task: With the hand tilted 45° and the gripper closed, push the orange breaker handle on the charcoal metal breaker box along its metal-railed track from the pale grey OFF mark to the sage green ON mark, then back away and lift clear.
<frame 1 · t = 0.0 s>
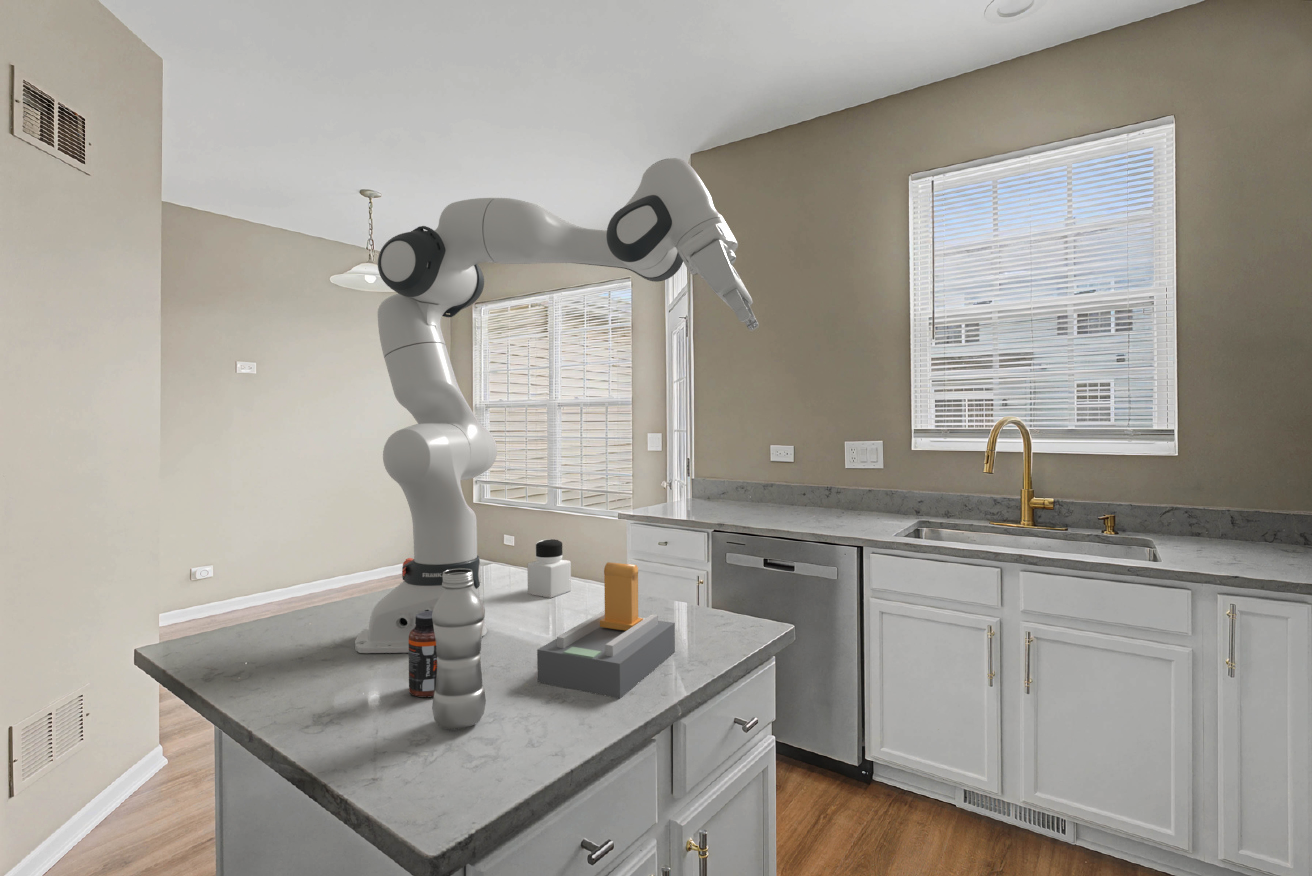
hand: (750, 324, 102), 54 cm above the worktop, tool tilted 30°, fingers open, 8 cm apart
breaker handle: (621, 594, 107), point 11 cm above the worktop, slide at 0.0 cm
medicine bottle: (549, 593, 148), on the worktop
plastic bottle: (459, 725, 84), on the worktop
supplement bottle: (430, 691, 95), on the worktop
breaker box: (610, 666, 104), on the worktop
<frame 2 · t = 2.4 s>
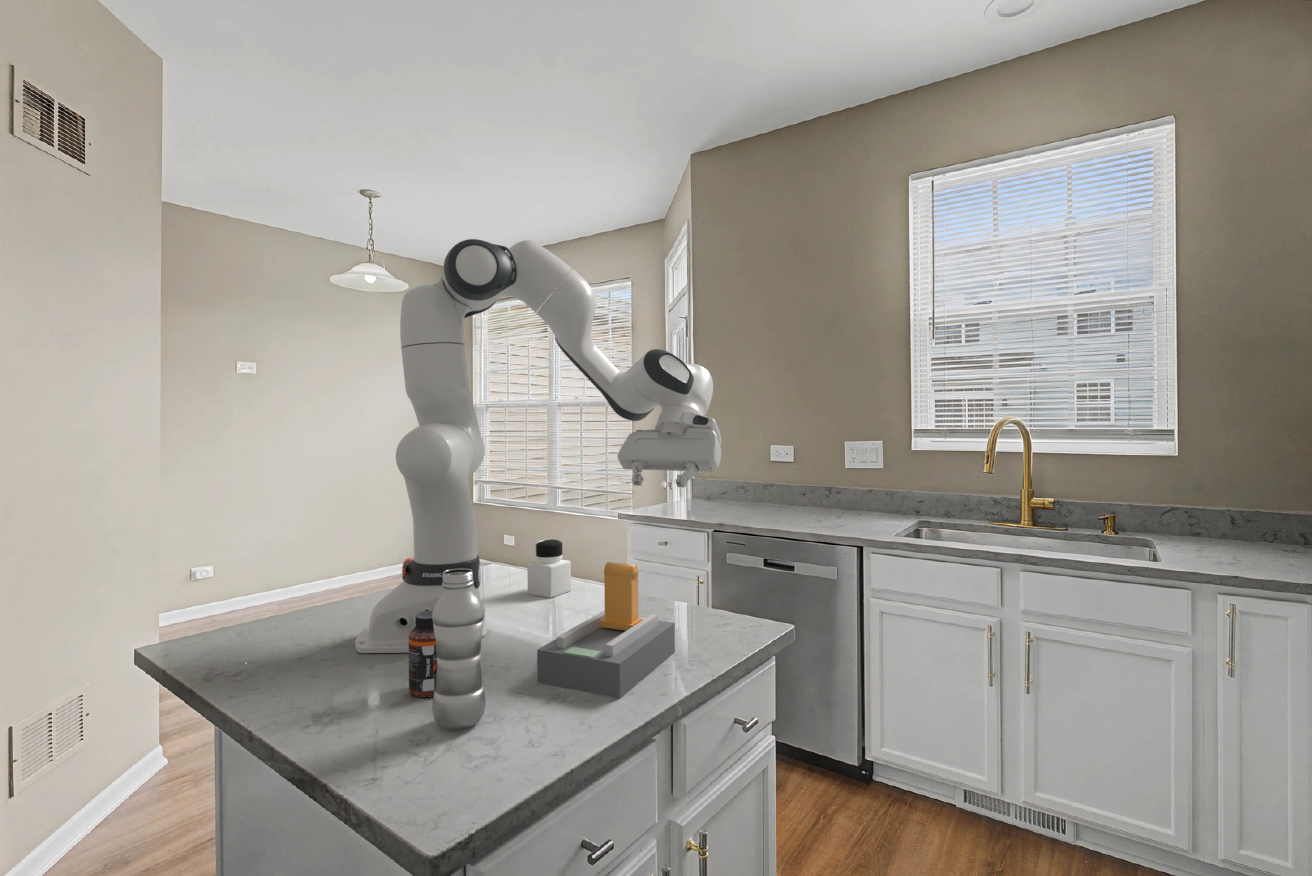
hand: (657, 484, 120), 27 cm above the worktop, tool tilted 45°, fingers open, 8 cm apart
nothing on the worktop moved.
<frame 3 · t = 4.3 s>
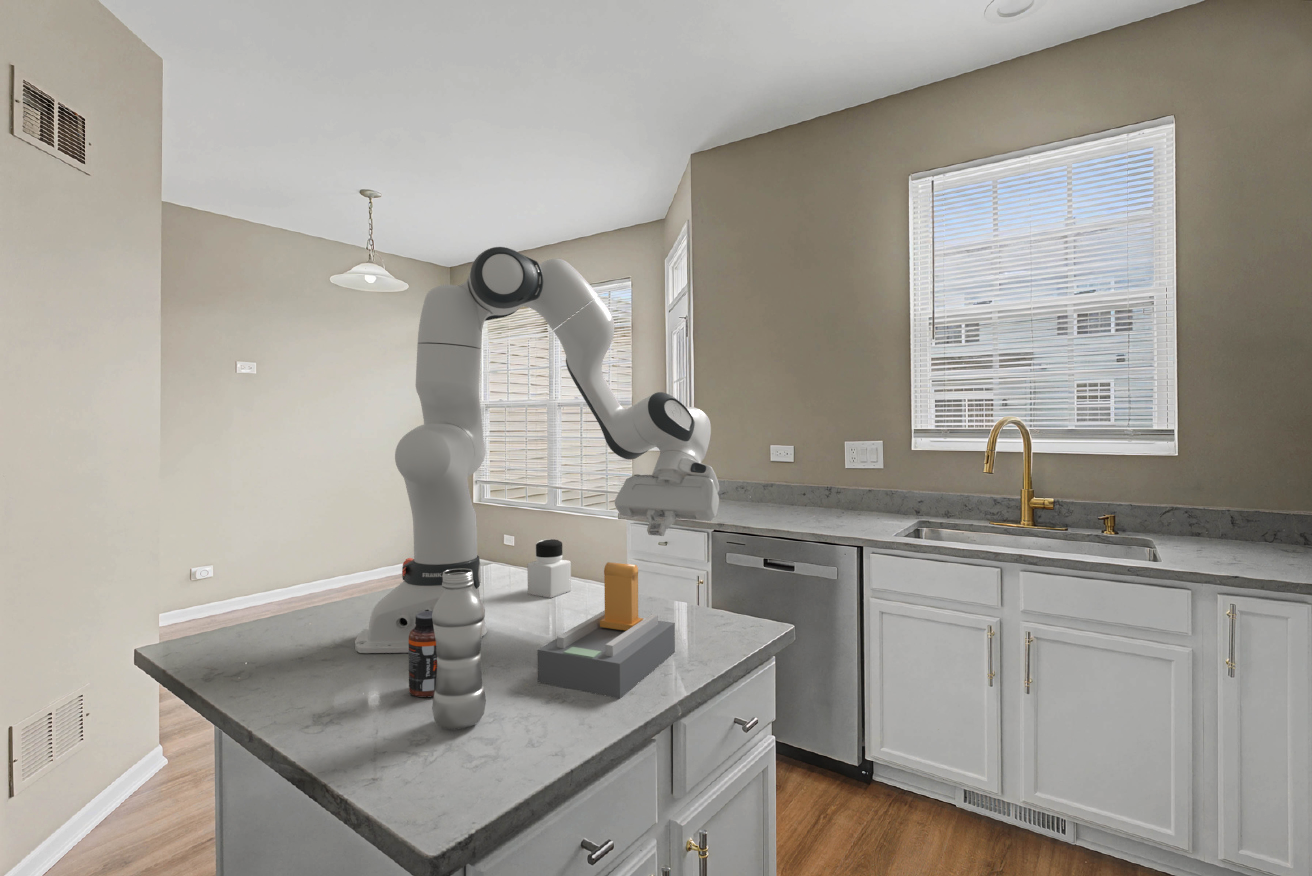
hand: (655, 533, 119), 18 cm above the worktop, tool tilted 45°, fingers closed
nothing on the worktop moved.
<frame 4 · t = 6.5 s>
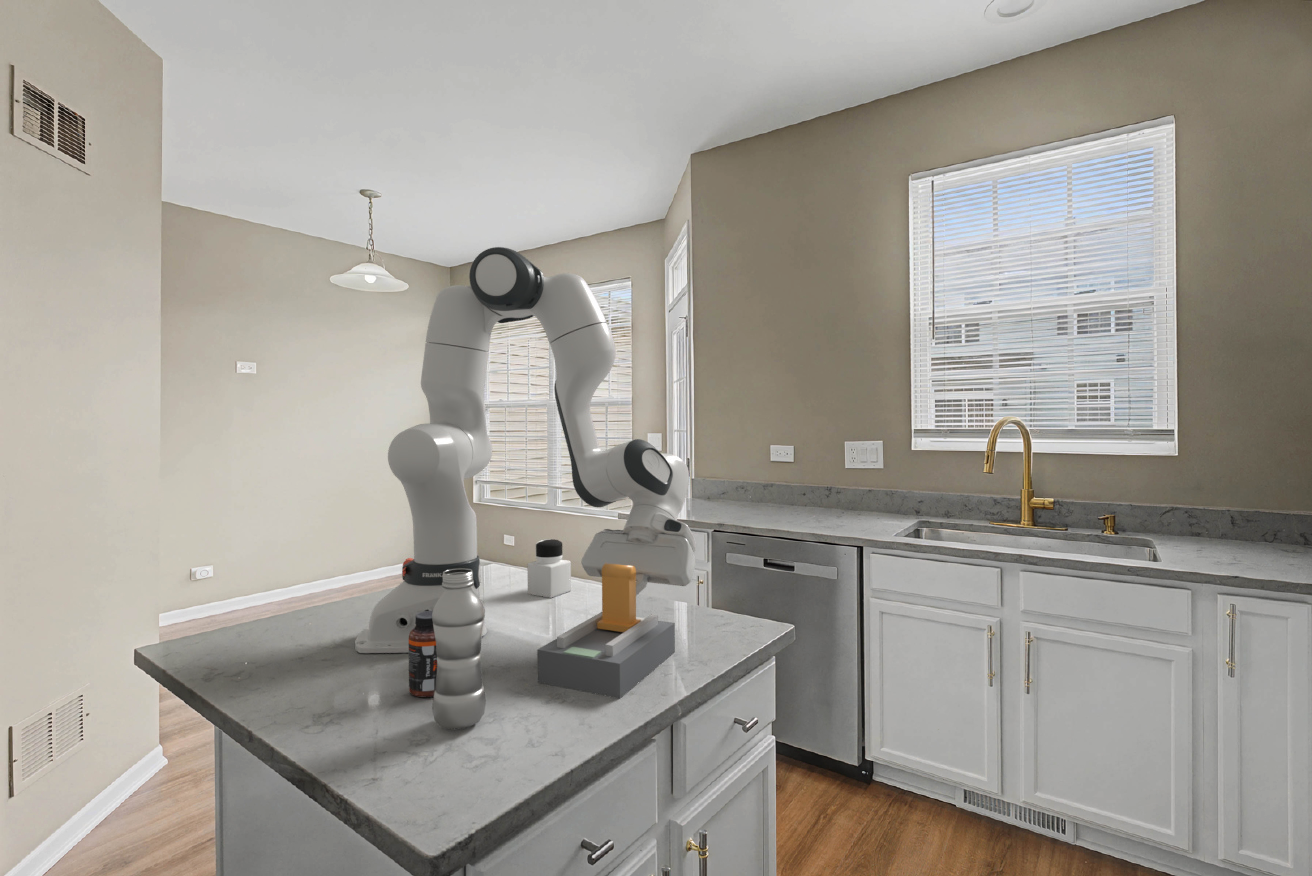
hand: (623, 600, 108), 9 cm above the worktop, tool tilted 45°, fingers closed, pressing on breaker handle
breaker handle: (619, 595, 106), point 11 cm above the worktop, slide at 0.8 cm, touching gripper
everything else where it was.
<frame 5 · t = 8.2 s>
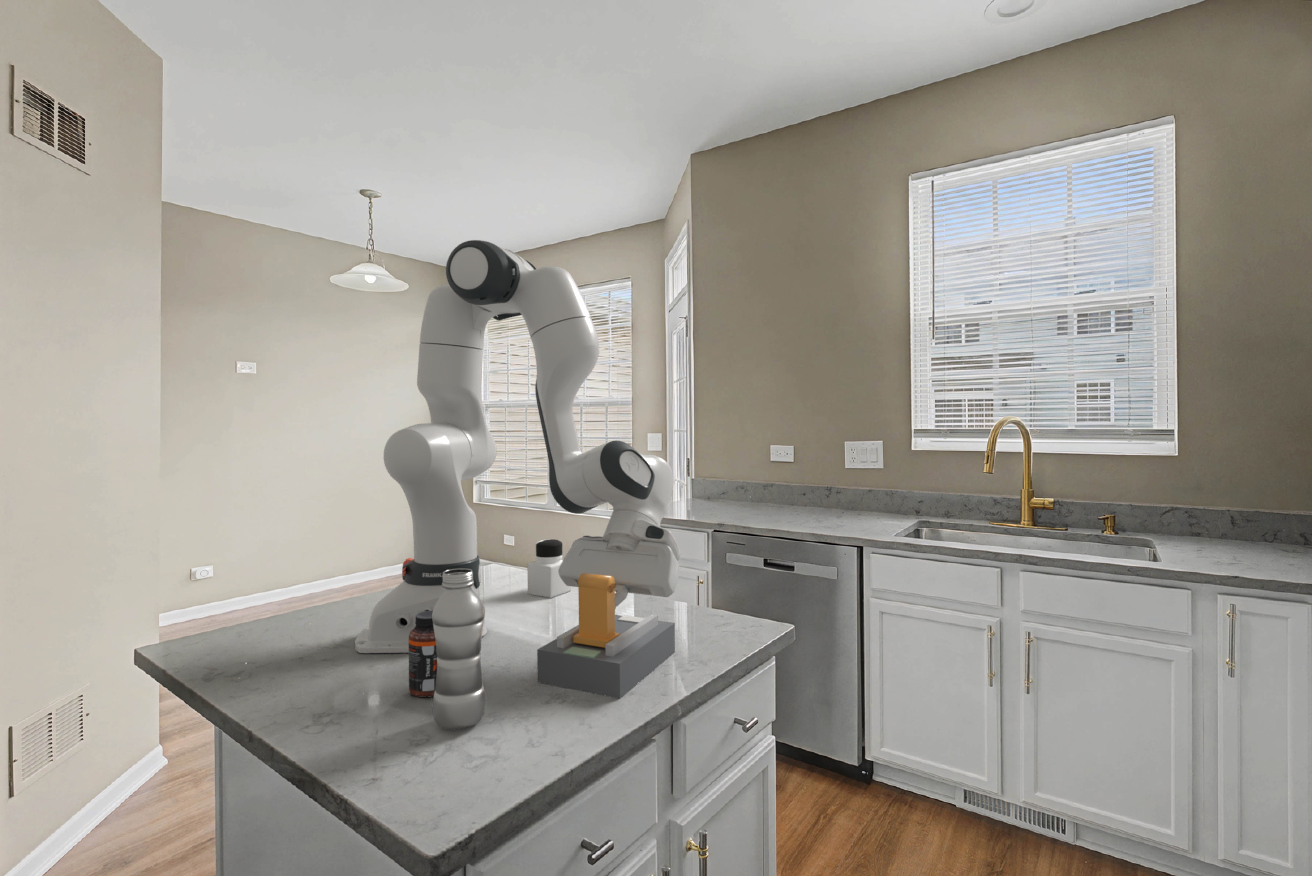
hand: (602, 612, 101), 9 cm above the worktop, tool tilted 45°, fingers closed, pressing on breaker handle
breaker handle: (596, 608, 100), point 11 cm above the worktop, slide at 8.2 cm, touching gripper
everything else where it was.
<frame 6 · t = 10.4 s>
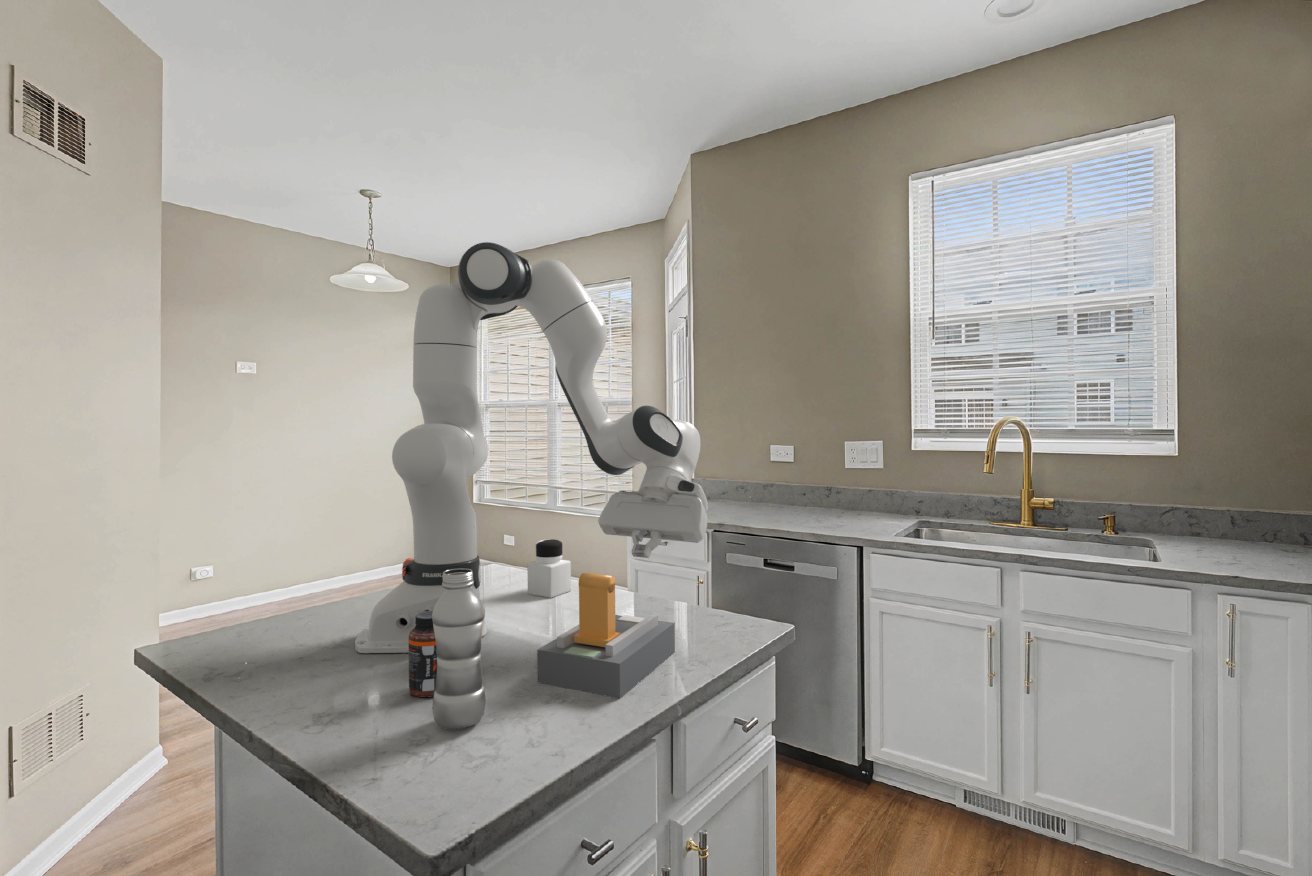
hand: (639, 555, 114), 16 cm above the worktop, tool tilted 45°, fingers closed
breaker handle: (597, 607, 100), point 11 cm above the worktop, slide at 8.0 cm
everything else where it was.
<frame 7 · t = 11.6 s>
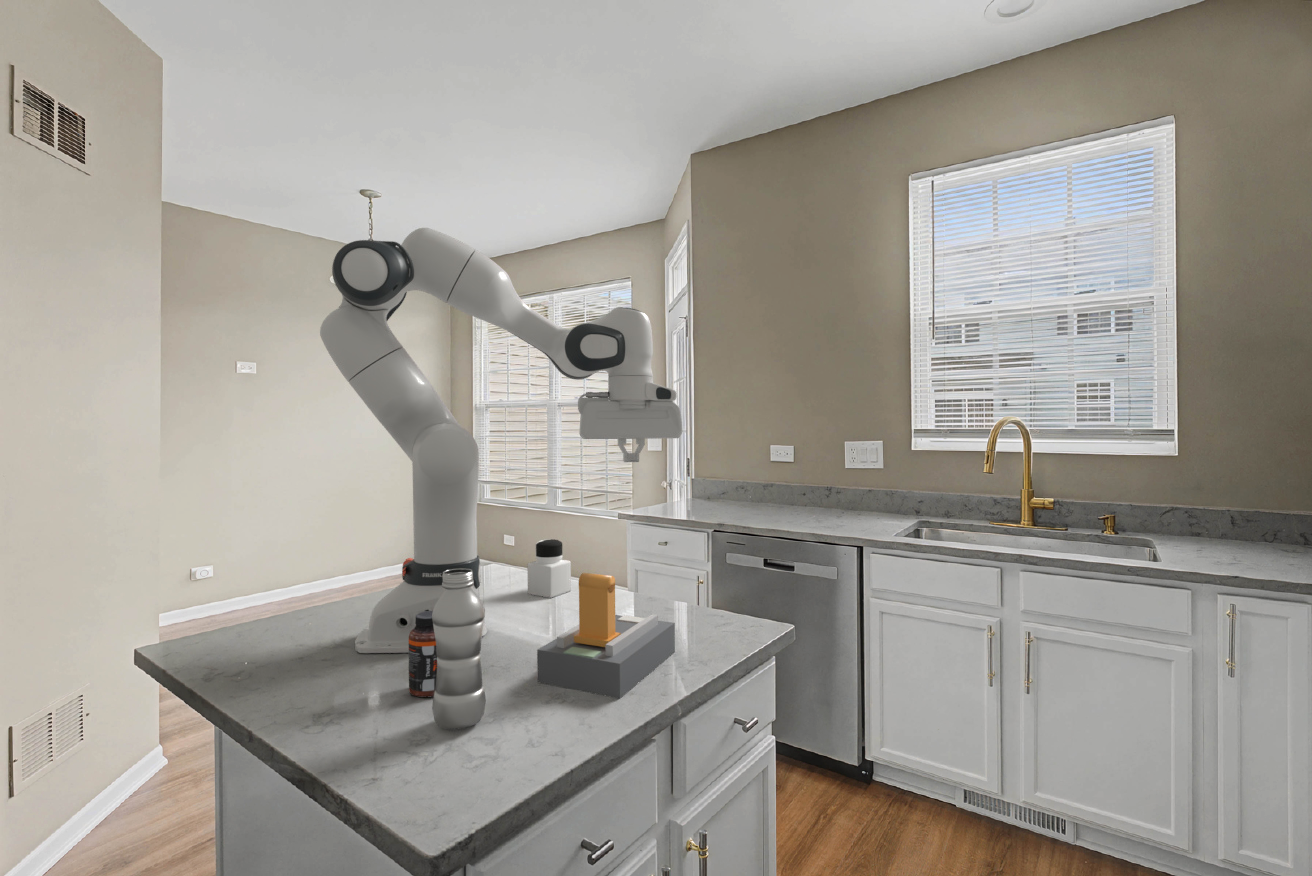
hand: (631, 462, 128), 31 cm above the worktop, tool pointing down, fingers closed
nothing on the worktop moved.
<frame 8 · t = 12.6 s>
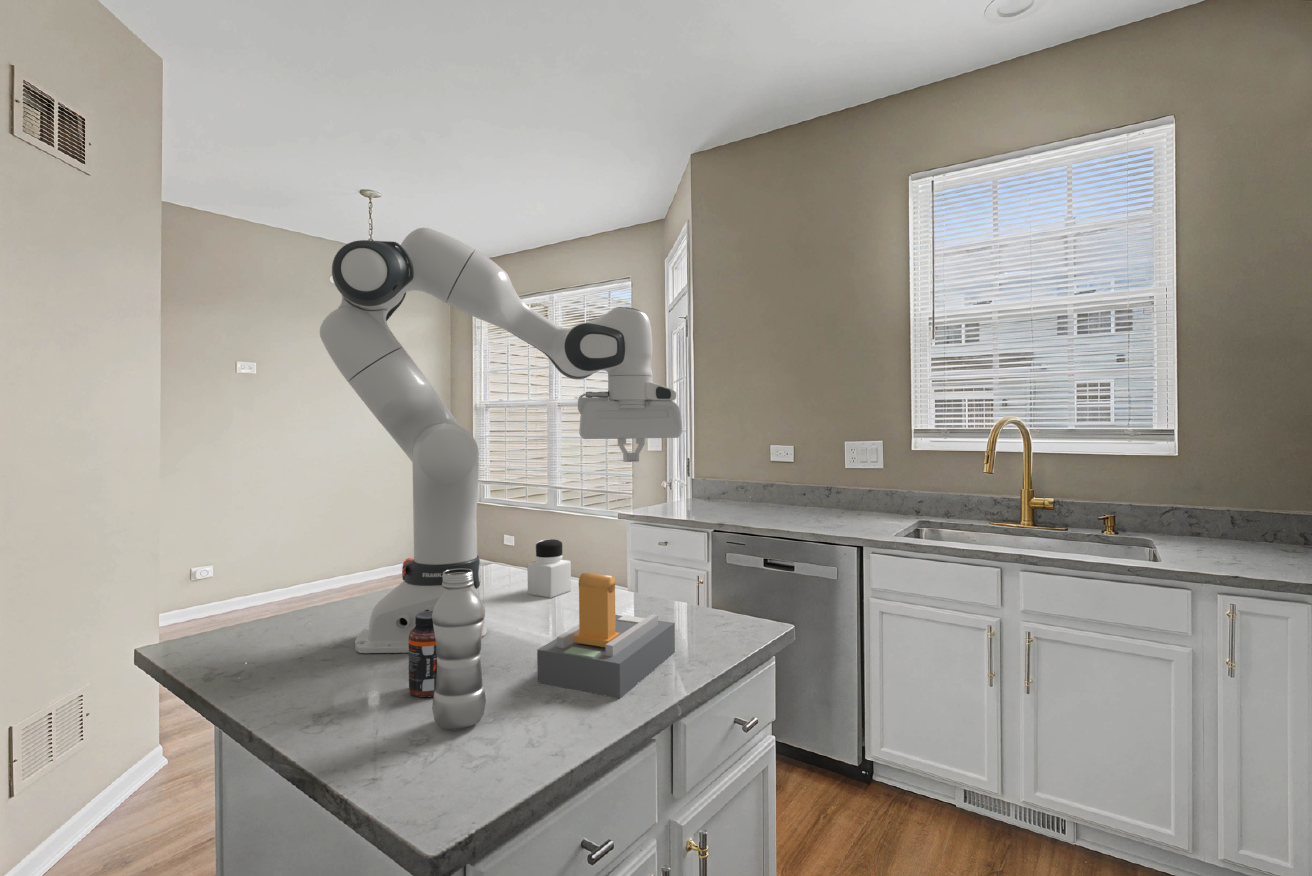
hand: (631, 461, 128), 31 cm above the worktop, tool pointing down, fingers closed
nothing on the worktop moved.
at the end: breaker handle slide at 8.0 cm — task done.
